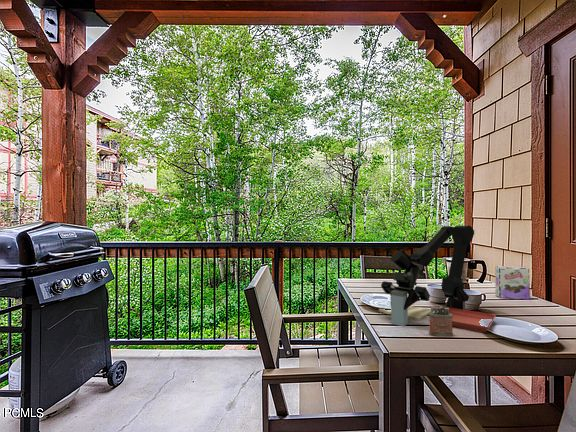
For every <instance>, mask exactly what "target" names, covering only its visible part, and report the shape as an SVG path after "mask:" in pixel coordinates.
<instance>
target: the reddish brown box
mask: <svg viewBox="0 0 576 432" xmlns="http://www.w3.org/2000/svg"><path fill="white" fill-rule="evenodd" d="M430 310H431V311H433V312H432V313H429V315H428V317H429V330H428V332H429V333H428V334H429V335H430V336H433V337H453V336H454V332H453V326H452V317H453V314H450V313H449V308H447V307H443V306H441V305H440V306H439V307H438V306H431V307H430ZM445 311H446V313H445Z"/></svg>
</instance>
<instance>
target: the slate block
mask: <svg viewBox="0 0 576 432" xmlns="http://www.w3.org/2000/svg"><path fill="white" fill-rule="evenodd" d="M407 297H408V293H407V291H401V290H393V291H391V295H390V305H391V314H390V316H391V317H390V318H391V319H390V320H391V322H390V323H391V324H392V325H395V326H396V325H397V326H400V327H405V326H407V325H408V324H409V318H408V308H407V309H406V310H404V305H405V302H406V300H407Z"/></svg>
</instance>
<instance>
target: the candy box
mask: <svg viewBox="0 0 576 432" xmlns="http://www.w3.org/2000/svg"><path fill="white" fill-rule="evenodd" d="M494 272H495V274H494V275H495V277H494V278H495V280H494V282H495V284H494V285H495V286H494V287H495V291H494V292H495V296H496V297H497V298H499V299H508V300H509V299H511V300H526V301H528V300H529V301H530V300H531V296H530V293H531V291H530V268H528V267H525V266H509V265H508V266H506V265H505V266H503V265H502V266H501V265H495V271H494Z"/></svg>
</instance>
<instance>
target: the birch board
mask: <svg viewBox="0 0 576 432" xmlns="http://www.w3.org/2000/svg"><path fill="white" fill-rule="evenodd" d="M379 311H380V312H379ZM378 312H379V313H382V312H383V313H382V314H387V315H391V310H385V309H381V308H379V309H378ZM429 313H434V311H431V308H430V309H428V308H425V307H420V306H413V305H411V306H410V307H408V320H414V321H420V320H422V319H424V318H426V317H427V316H429Z"/></svg>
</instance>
